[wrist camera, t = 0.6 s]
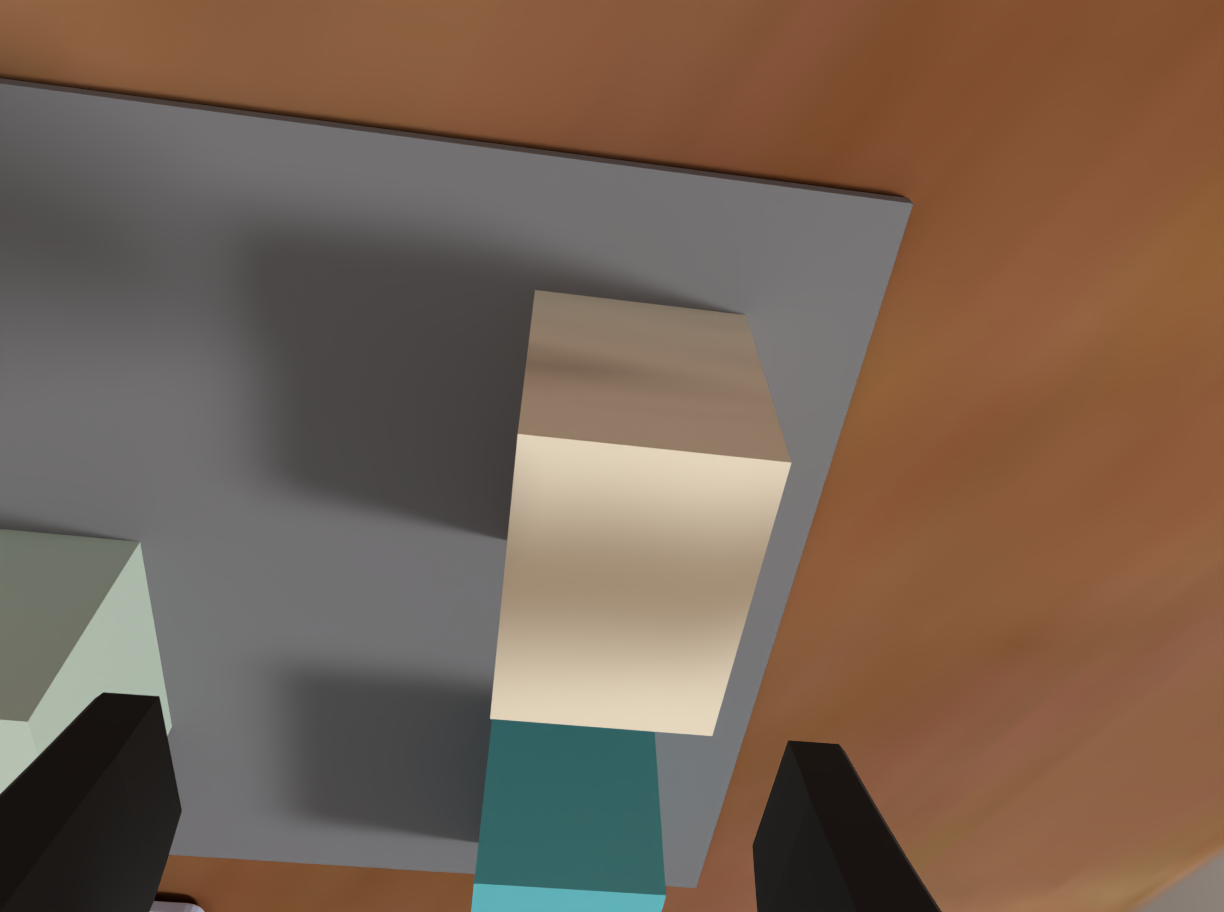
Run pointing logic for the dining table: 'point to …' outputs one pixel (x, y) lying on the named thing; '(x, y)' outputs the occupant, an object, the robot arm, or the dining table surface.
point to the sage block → (69, 636)
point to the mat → (368, 428)
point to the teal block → (569, 821)
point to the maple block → (634, 515)
